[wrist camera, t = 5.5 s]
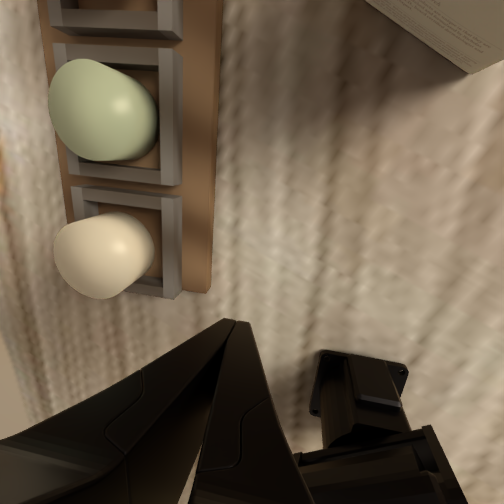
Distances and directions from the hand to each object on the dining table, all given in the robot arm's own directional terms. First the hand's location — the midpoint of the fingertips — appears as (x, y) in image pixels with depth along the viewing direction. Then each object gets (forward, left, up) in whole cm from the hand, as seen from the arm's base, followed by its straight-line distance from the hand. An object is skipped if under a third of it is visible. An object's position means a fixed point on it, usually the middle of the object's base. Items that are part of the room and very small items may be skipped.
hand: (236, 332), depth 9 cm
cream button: (-2, +10, -9) cm, 14 cm away
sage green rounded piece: (+7, +10, -10) cm, 16 cm away
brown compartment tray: (+7, +10, -12) cm, 17 cm away
